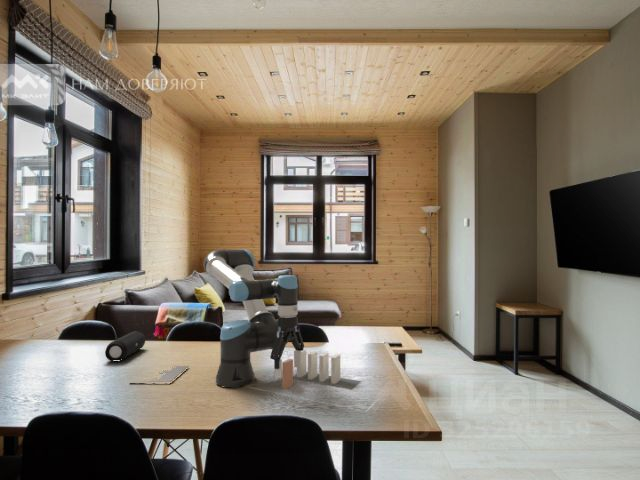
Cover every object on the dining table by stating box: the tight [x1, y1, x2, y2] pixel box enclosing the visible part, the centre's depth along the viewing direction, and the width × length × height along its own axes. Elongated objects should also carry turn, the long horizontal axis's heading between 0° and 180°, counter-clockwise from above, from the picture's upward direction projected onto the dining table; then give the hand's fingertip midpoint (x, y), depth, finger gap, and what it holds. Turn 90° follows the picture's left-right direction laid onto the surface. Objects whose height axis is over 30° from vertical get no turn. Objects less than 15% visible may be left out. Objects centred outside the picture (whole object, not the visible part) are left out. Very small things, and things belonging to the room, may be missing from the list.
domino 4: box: [330, 353, 341, 384], centre depth 151 cm, size 2×5×10 cm, turn 152°
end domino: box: [281, 358, 294, 390], centre depth 146 cm, size 2×5×10 cm, turn 152°
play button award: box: [144, 365, 190, 382], centre depth 160 cm, size 16×2×20 cm
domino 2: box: [307, 350, 318, 380], centre depth 156 cm, size 2×5×10 cm, turn 152°
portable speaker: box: [104, 330, 146, 361], centre depth 190 cm, size 26×10×10 cm, turn 3°
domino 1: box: [296, 349, 307, 378], centre depth 159 cm, size 2×5×10 cm, turn 152°
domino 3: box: [318, 352, 330, 382], centre depth 154 cm, size 2×5×10 cm, turn 152°
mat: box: [293, 371, 362, 391], centre depth 153 cm, size 27×10×1 cm, turn 62°
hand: (288, 372), depth 146 cm, fingers open, 13 cm apart
